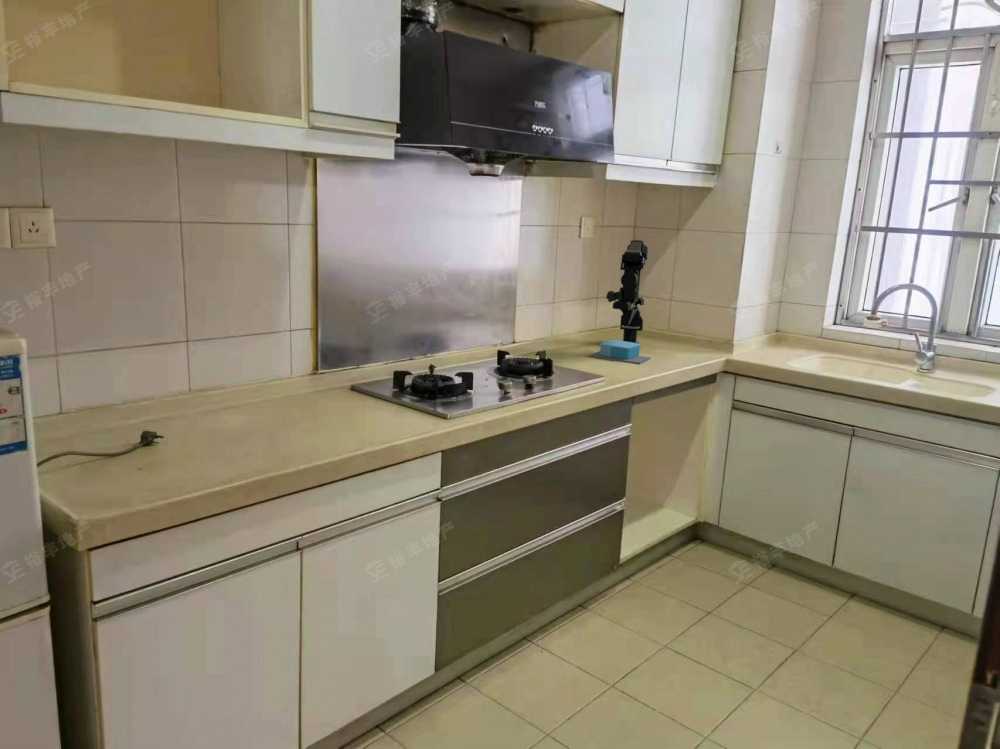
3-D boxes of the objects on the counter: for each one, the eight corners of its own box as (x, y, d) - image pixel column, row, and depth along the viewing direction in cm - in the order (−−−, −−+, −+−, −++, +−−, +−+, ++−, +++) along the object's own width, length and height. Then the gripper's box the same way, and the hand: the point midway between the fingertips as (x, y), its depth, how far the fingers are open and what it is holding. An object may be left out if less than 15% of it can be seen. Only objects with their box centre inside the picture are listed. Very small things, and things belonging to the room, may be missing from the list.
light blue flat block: (612, 350, 295) (598, 355, 286) (613, 339, 294) (599, 343, 285) (640, 355, 289) (626, 360, 279) (641, 343, 288) (627, 348, 278)
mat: (601, 351, 295) (601, 350, 295) (650, 359, 286) (650, 357, 286) (589, 356, 285) (589, 355, 285) (639, 364, 276) (640, 362, 276)
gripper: (619, 280, 296) (615, 319, 300) (601, 285, 280) (598, 326, 284) (646, 283, 291) (642, 323, 295) (629, 288, 275) (625, 329, 279)
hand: (626, 325), depth 288 cm, fingers closed
